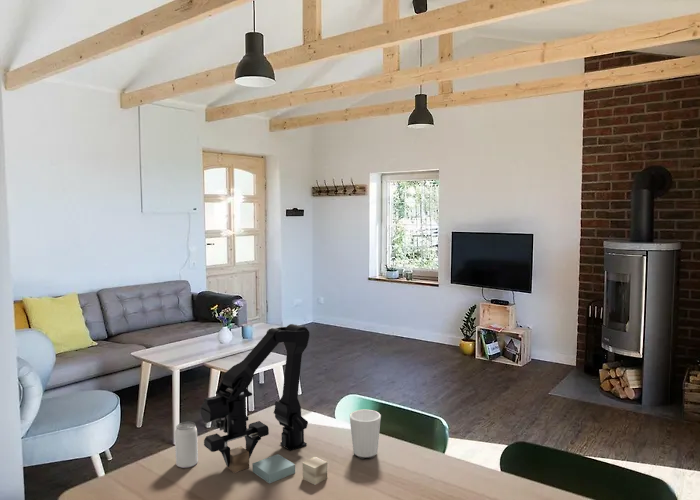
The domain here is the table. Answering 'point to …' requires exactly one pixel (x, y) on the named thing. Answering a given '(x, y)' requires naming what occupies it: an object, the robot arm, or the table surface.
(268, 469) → the base block
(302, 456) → the table surface
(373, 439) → the cup
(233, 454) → the walnut cube
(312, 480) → the beech cube
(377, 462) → the table surface
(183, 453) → the can
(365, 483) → the table surface
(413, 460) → the table surface
